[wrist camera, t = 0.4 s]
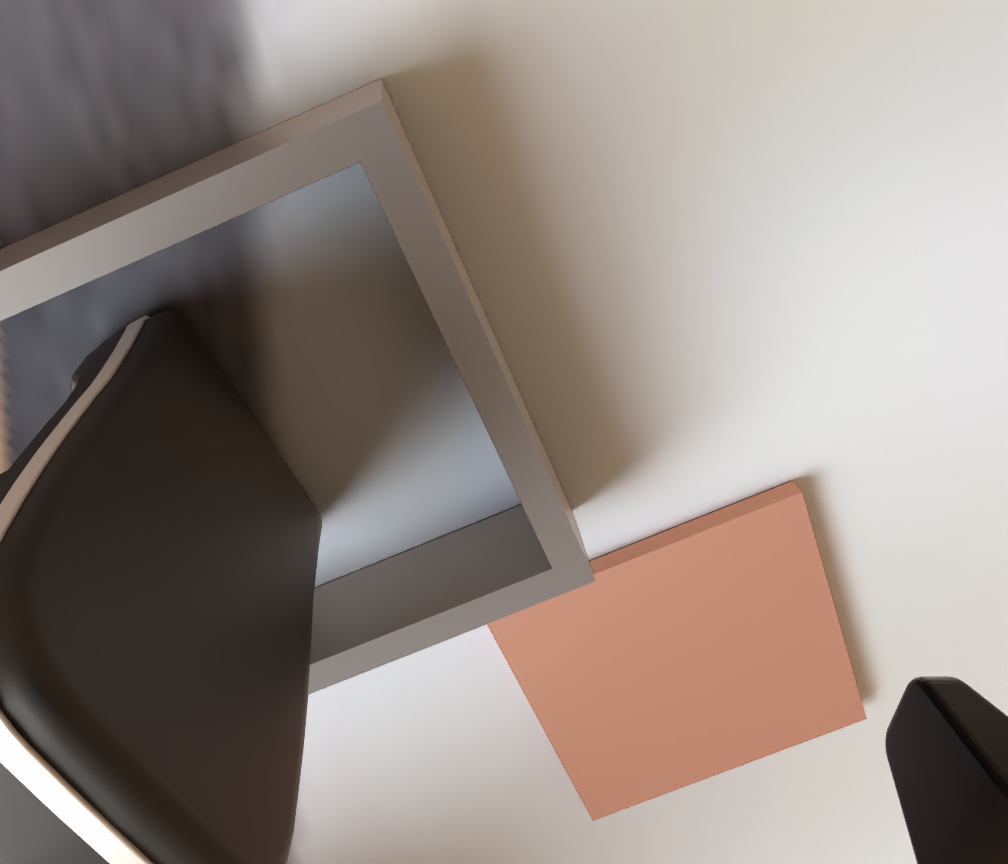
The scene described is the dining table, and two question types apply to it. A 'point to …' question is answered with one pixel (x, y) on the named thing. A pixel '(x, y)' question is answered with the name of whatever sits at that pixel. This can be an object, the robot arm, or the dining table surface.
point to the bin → (460, 318)
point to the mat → (687, 654)
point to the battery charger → (153, 619)
